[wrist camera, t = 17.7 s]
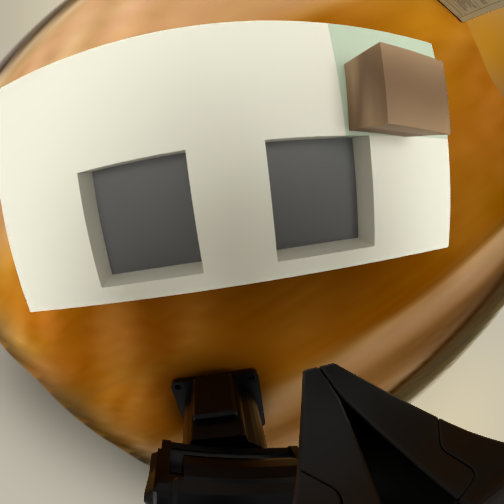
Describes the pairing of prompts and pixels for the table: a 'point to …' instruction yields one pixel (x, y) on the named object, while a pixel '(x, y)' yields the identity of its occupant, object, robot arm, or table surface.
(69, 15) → the table surface
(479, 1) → the skincare box
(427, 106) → the walnut block
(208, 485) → the robot arm
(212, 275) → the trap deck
